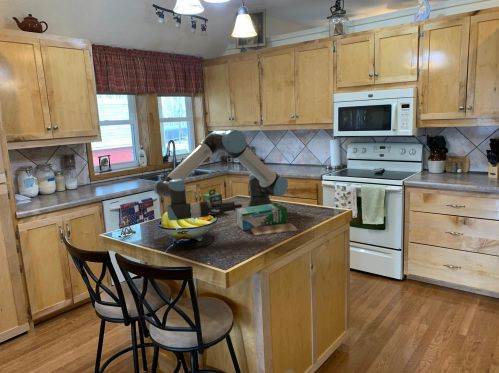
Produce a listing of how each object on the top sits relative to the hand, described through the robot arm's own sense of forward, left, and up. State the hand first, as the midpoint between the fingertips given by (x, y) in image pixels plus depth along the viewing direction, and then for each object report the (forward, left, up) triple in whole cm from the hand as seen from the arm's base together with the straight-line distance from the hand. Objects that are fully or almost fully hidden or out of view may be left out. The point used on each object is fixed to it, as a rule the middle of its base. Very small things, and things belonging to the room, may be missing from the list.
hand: (247, 204), depth 193 cm
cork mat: (-12, +3, -15) cm, 20 cm away
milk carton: (0, -10, -10) cm, 14 cm away
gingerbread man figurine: (+51, -43, -15) cm, 68 cm away
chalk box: (-4, -52, -15) cm, 54 cm away
